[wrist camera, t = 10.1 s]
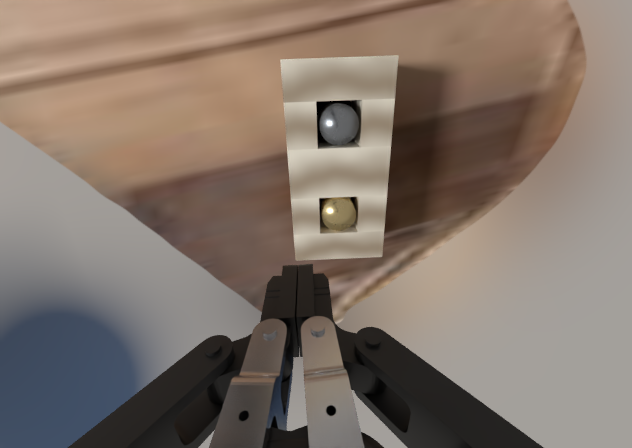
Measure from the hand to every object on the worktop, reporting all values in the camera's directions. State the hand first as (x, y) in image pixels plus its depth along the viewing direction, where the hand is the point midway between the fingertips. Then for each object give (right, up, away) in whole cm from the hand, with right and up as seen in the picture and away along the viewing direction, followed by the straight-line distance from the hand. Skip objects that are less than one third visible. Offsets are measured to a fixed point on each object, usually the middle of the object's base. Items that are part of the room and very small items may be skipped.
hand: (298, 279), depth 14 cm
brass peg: (+4, +7, +29) cm, 30 cm away
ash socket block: (+3, +12, +26) cm, 29 cm away
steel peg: (+3, +17, +24) cm, 30 cm away
